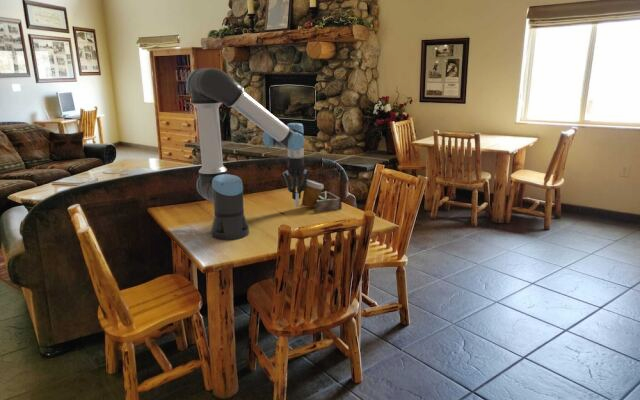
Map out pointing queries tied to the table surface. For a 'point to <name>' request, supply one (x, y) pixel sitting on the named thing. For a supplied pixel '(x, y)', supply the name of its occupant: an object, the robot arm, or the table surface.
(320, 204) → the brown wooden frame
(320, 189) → the disposable coffee cup
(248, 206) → the table surface
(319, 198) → the gauge plunger
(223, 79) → the robot arm
